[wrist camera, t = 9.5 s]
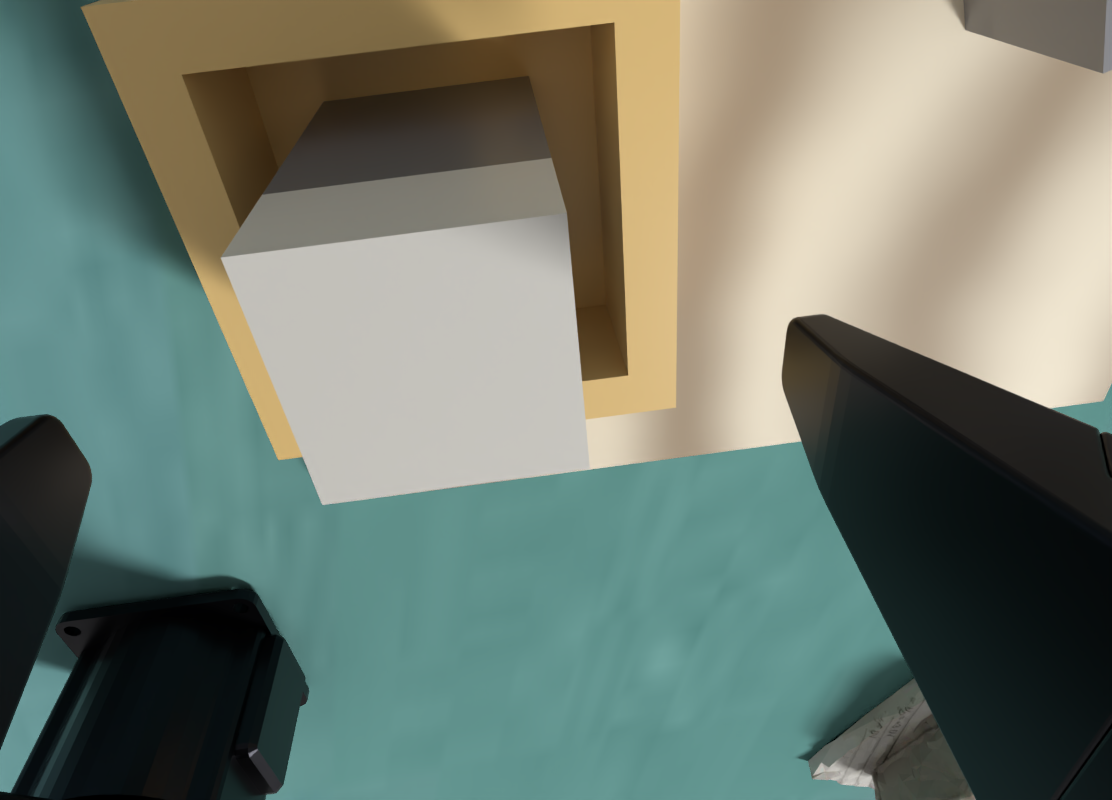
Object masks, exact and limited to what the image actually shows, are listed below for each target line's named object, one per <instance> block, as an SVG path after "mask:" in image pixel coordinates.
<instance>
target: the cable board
mask: <svg viewBox="0 0 1112 800" xmlns="http://www.w3.org/2000/svg"><path fill="white" fill-rule="evenodd" d="M816 314H826V315H828V316H831V317H833V318H836V319H838V320H840V321H843V322H845V323H848V324H850V325H852V326H855V327H857V328H859V329H862V330H864V331H867V332H869V333H871V334H874V335H876V336H878V337H881V338H883V339H886V340H888V341H890V342H893V343H895V344H898V345H900V346H902V347H905V348H907V349H909V350H912V351H914V352H917V353H919V354H921V355H924V356H926V357H928V358H931V359H933V360H936V361H938V362H940V363H943V364H945V365H948V366H950V367H952V368H955V369H957V370H959V371H962V372H964V373H967V374H969V375H971V376H974V377H976V378H979V379H981V380H983V381H986V382H988V383H990V384H993V385H995V386H998V387H1000V388H1002V389H1005V390H1007V391H1010V392H1012V393H1014V394H1017V395H1019V396H1021V397H1024V398H1026V399H1029V400H1031V401H1033V402H1036V403H1038V404H1041V405H1043V406H1045V407H1048V408H1054V407H1062V406H1069V405H1077V404H1084V403H1092V402H1099V401H1104V398H1105V396H1106V394H1107V392H1108V390H1109V388H1110V385H1111V383H1112V70H1111V71H1108V72H1106V73H1104V74H1102V73H1099V72H1096V71H1093V70H1090V69H1087V68H1083V67H1080V66H1077V65H1074V64H1071V63H1068V62H1064V61H1061V60H1058V59H1055V58H1052V57H1049V56H1045V55H1042V54H1039V53H1036V52H1033V51H1030V50H1026V49H1023V48H1020V47H1017V46H1014V45H1011V44H1007V43H1004V42H1001V41H998V40H995V39H992V38H988V37H985V36H982V35H979V34H976V33H973V32H969V31H966V30H965V18H964V2H963V0H680V75H679V171H678V267H677V363H676V408H669V409H662V410H654V411H647V412H639V413H632V414H624V415H616V416H609V417H601V418H594V419H586V430H587V442H588V453H589V464H590V469H597V468H604V467H612V466H619V465H627V464H634V463H642V462H649V461H657V460H664V459H672V458H679V457H687V456H694V455H702V454H709V453H717V452H724V451H732V450H739V449H747V448H754V447H762V446H769V445H777V444H784V443H792V442H799V441H801V439H800V436H799V433H798V430H797V428H796V425H795V422H794V419H793V416H792V414H791V411H790V408H789V405H788V402H787V400H786V397H785V394H784V391H783V386H782V365H783V357H784V348H785V340H786V332H787V327H788V324H789V322H790V321H791V320H792V319H793V318H795V317H801V316H809V315H816ZM584 470H589V469H584ZM577 471H582V470H577ZM570 472H574V471H570ZM562 473H567V472H562ZM555 474H559V473H555ZM547 475H552V474H547ZM540 476H544V475H540ZM533 477H537V476H533ZM525 478H529V477H525ZM518 479H522V478H518ZM510 480H514V479H510ZM503 481H507V480H503ZM496 482H499V481H496ZM488 483H492V482H488ZM481 484H484V483H481ZM474 485H477V484H474ZM466 486H469V485H466ZM459 487H462V486H459ZM451 488H454V487H451ZM444 489H447V488H444ZM437 490H439V489H437ZM429 491H432V490H429ZM422 492H424V491H422ZM414 493H417V492H414ZM407 494H409V493H407ZM400 495H402V494H400ZM392 496H394V495H392ZM385 497H386V496H385ZM378 498H379V497H378ZM370 499H371V498H370ZM363 500H364V499H363ZM355 501H356V500H355ZM348 502H349V501H348ZM333 504H334V503H333Z"/></svg>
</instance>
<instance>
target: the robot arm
mask: <svg viewBox="0 0 1112 800" xmlns="http://www.w3.org/2000/svg"><path fill="white" fill-rule="evenodd" d="M782 386H783V391H784V394H785V397H786V400H787V402H788V405H789V408H790V411H791V414H792V416H793V419H794V422H795V425H796V428H797V430H798V433H799V436H800V439H801V442H802V444H803V447H804V450H805V453H806V456H807V458H808V461H809V464H810V467H811V470H812V472H813V475H814V478H815V480H816V483H817V485H818V488H819V490H820V492H821V494H822V497H823V499H824V501H825V503H826V505H827V507H828V509H829V511H830V513H831V515H832V517H833V519H834V521H835V523H836V525H837V527H838V529H839V531H840V533H841V535H842V537H843V539H844V541H845V543H846V545H847V547H848V549H849V551H850V553H851V554H852V556H853V558H854V560H855V562H856V564H857V566H858V568H859V570H860V572H861V574H862V576H863V578H864V580H865V582H866V584H867V586H868V588H869V590H870V592H871V594H872V596H873V598H874V600H875V602H876V604H877V606H878V608H879V610H880V612H881V614H882V616H883V618H884V620H885V622H886V624H887V625H888V627H889V629H890V631H891V633H892V635H893V637H894V639H895V641H896V643H897V645H898V647H899V649H900V651H901V653H902V655H903V657H904V659H905V661H906V663H907V665H908V667H909V669H910V671H911V673H912V675H913V677H914V679H915V681H916V683H917V685H918V687H919V689H920V691H921V693H922V695H923V697H924V698H925V700H926V702H927V704H928V706H929V708H930V710H931V712H932V714H933V716H934V718H935V720H936V722H937V724H938V726H939V728H940V730H941V732H942V734H943V736H944V738H945V740H946V742H947V744H948V746H949V748H950V750H951V752H952V754H953V756H954V758H955V760H956V762H957V764H958V766H959V768H960V769H961V771H962V773H963V775H964V777H965V779H966V781H967V783H968V785H969V787H970V789H971V791H972V793H973V795H974V797H975V799H976V800H1112V434H1110V433H1108V432H1103V433H1101V434H1100V432H1099V430H1098V429H1097V428H1095V427H1093V426H1091V425H1088V424H1086V423H1083V422H1081V421H1079V420H1076V419H1074V418H1072V417H1069V416H1067V415H1064V414H1062V413H1060V412H1057V411H1055V410H1052V409H1050V408H1048V407H1045V406H1043V405H1041V404H1038V403H1036V402H1033V401H1031V400H1029V399H1026V398H1024V397H1021V396H1019V395H1017V394H1014V393H1012V392H1010V391H1007V390H1005V389H1002V388H1000V387H998V386H995V385H993V384H990V383H988V382H986V381H983V380H981V379H979V378H976V377H974V376H971V375H969V374H967V373H964V372H962V371H959V370H957V369H955V368H952V367H950V366H948V365H945V364H943V363H940V362H938V361H936V360H933V359H931V358H928V357H926V356H924V355H921V354H919V353H917V352H914V351H912V350H909V349H907V348H905V347H902V346H900V345H898V344H895V343H893V342H890V341H888V340H886V339H883V338H881V337H878V336H876V335H874V334H871V333H869V332H867V331H864V330H862V329H859V328H857V327H855V326H852V325H850V324H848V323H845V322H843V321H840V320H838V319H836V318H833V317H831V316H828V315H826V314H816V315H809V316H801V317H795V318H793V319H792V320H791V321H790V322H789V324H788V327H787V332H786V340H785V348H784V357H783V365H782ZM91 483H92V474H91V469H90V466H89V463H88V462H87V460H86V458H85V457H84V455H83V454H82V452H81V451H80V449H79V448H78V446H77V445H76V443H75V442H74V440H73V439H72V437H71V436H70V434H69V432H68V431H67V429H66V428H65V426H64V425H63V424H62V422H61V421H60V420H59V419H57V418H56V417H54V416H52V415H48V414H44V415H35V416H27V417H19V418H15V419H12V420H10V421H8V422H6V423H4V424H3V425H1V426H0V749H1V747H2V744H3V742H4V739H5V737H6V734H7V732H8V729H9V727H10V724H11V721H12V719H13V716H14V714H15V711H16V709H17V706H18V704H19V701H20V699H21V696H22V693H23V691H24V688H25V686H26V683H27V681H28V678H29V676H30V673H31V671H32V668H33V665H34V663H35V660H36V658H37V655H38V653H39V650H40V648H41V645H42V643H43V640H44V637H45V635H46V632H47V630H48V627H49V625H50V622H51V620H52V617H53V615H54V612H55V609H56V607H57V604H58V601H59V598H60V596H61V593H62V590H63V587H64V583H65V580H66V577H67V573H68V570H69V566H70V562H71V558H72V555H73V551H74V547H75V543H76V540H77V536H78V532H79V528H80V525H81V521H82V517H83V514H84V510H85V506H86V502H87V499H88V495H89V491H90V487H91ZM55 630H56V632H57V634H58V635H59V636H60V637H61V639H62V640H63V641H64V642H65V643H66V644H67V646H68V647H69V648H70V649H71V650H72V651H73V653H74V654H75V655H76V656H77V657H78V660H77V662H76V664H75V666H74V668H73V670H72V672H71V674H70V676H69V678H68V680H67V682H66V684H65V686H64V688H63V690H62V691H61V693H60V695H59V697H58V699H57V701H56V703H55V705H54V707H53V709H52V711H51V713H50V715H49V717H48V719H47V721H46V723H45V725H44V727H43V729H42V731H41V733H40V735H39V737H38V739H37V741H36V743H35V745H34V747H33V749H32V751H31V753H30V755H29V757H28V759H27V761H26V763H25V765H24V767H23V769H22V771H21V773H20V775H19V777H18V779H17V781H16V783H15V785H14V787H13V789H12V791H11V793H7V792H0V800H265V799H266V795H267V794H274V793H277V792H278V791H279V789H280V788H281V787H282V786H283V784H284V779H285V775H286V770H287V765H288V760H289V755H290V751H291V746H292V741H293V736H294V731H295V727H296V722H297V717H298V712H299V707H300V706H302V705H304V704H306V702H307V699H308V694H309V688H308V686H307V684H306V682H305V675H304V673H303V672H302V670H301V668H300V666H299V664H298V662H297V660H296V659H295V657H294V655H293V653H292V651H291V649H290V647H289V646H288V644H287V642H286V640H285V639H284V638H283V637H282V636H281V635H280V634H279V632H278V631H277V629H276V627H275V625H274V623H273V621H272V619H271V618H270V616H269V614H268V612H267V610H266V608H265V607H264V605H263V603H262V601H261V599H260V597H259V596H258V595H257V594H256V593H255V592H253V591H251V590H248V589H234V590H227V591H219V592H212V593H204V594H197V595H190V596H182V597H175V598H168V599H160V600H153V601H145V602H138V603H131V604H123V605H116V606H108V607H101V608H94V609H86V610H79V611H71V612H67V613H65V614H63V615H62V616H61V618H60V620H59V622H58V624H57V625H56V629H55Z"/></svg>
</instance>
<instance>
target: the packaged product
mask: <svg viewBox="0 0 1112 800" xmlns="http://www.w3.org/2000/svg"><path fill="white" fill-rule="evenodd" d="M808 763H809V767H810V771H811V776H812V779H820V780H836V781H837V782H839V783H840V784H842V785H854V786H861V787H871V788H873V789H875V798H876V800H976V799H975V797H974V795H973V793H972V791H971V789H970V787H969V785H968V783H967V781H966V779H965V777H964V775H963V773H962V771H961V769H960V768H959V766H958V764H957V762H956V760H955V758H954V756H953V754H952V752H951V750H950V748H949V746H948V744H947V742H946V740H945V738H944V736H943V734H942V732H941V730H940V728H939V726H938V724H937V722H936V720H935V718H934V716H933V714H932V712H931V710H930V708H929V706H928V704H927V702H926V700H925V698H924V697H923V695H922V693H921V691H920V689H919V687H918V685H917V683H916V681H915V679H912V680H911V681H910V682H908V683H907V684H906V685H904V686H903V687H902V688H901V689H899V690H898V691H897V692H896V693H894V694H893V695H892V696H890V697H889V698H887V699H886V700H885V701H883V702H882V703H881V704H879V705H878V706H877V707H875V708H874V709H873V710H871V711H870V712H869V713H867V714H866V715H865V716H864V717H862V718H861V719H860V720H859V721H857V722H856V723H855V724H854V725H853V726H851V727H850V728H849V729H848V730H846V731H845V732H844V733H843V734H842V735H840V736H839V737H838V738H837V739H836V740H834V741H832V742H831V743H829V744H827V745H825V746H824V747H823V748H822V749H821V750H820V751H819V752H818V753H816V754H815V755H814V756H813V757H812V758H811V759H810V760H809V761H808Z"/></svg>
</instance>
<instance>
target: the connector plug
mask: <svg viewBox="0 0 1112 800" xmlns="http://www.w3.org/2000/svg"><path fill="white" fill-rule="evenodd" d="M221 260H222V262H223V265H224V267H225V270H226V272H227V274H228V277H229V279H230V282H231V284H232V287H233V289H234V291H235V294H236V296H237V299H238V301H239V304H240V306H241V308H242V311H243V313H244V316H245V318H246V321H247V323H248V325H249V328H250V330H251V333H252V335H253V338H254V340H255V342H256V345H257V347H258V350H259V352H260V355H261V357H262V359H263V362H264V364H265V367H266V369H267V372H268V374H269V376H270V379H271V381H272V384H273V386H274V389H275V391H276V393H277V396H278V398H279V401H280V403H281V406H282V408H283V410H284V413H285V415H286V418H287V420H288V423H289V425H290V427H291V430H292V432H293V435H294V437H295V440H296V442H297V444H298V447H299V449H300V452H301V454H302V457H303V459H304V461H305V464H306V466H307V469H308V471H309V474H310V476H311V478H312V481H313V483H314V486H315V488H316V491H317V493H318V495H319V498H320V500H321V503H322V505H326V504H333V503H341V502H348V501H355V500H363V499H370V498H378V497H385V496H392V495H400V494H407V493H414V492H422V491H429V490H437V489H444V488H451V487H459V486H466V485H474V484H481V483H488V482H496V481H503V480H510V479H518V478H525V477H533V476H540V475H547V474H555V473H562V472H570V471H577V470H584V469H590V464H589V453H588V442H587V430H586V419H585V408H584V397H583V386H582V375H581V364H580V353H579V342H578V331H577V320H576V309H575V298H574V287H573V276H572V265H571V254H570V243H569V232H568V221H567V212H566V208H565V205H564V201H563V198H562V194H561V190H560V187H559V183H558V180H557V176H556V172H555V169H554V165H553V162H552V158H551V154H550V151H549V147H548V143H547V140H546V136H545V133H544V129H543V125H542V122H541V118H540V115H539V111H538V107H537V104H536V100H535V97H534V93H533V89H532V86H531V82H530V79H529V76H524V77H516V78H508V79H500V80H492V81H484V82H476V83H468V84H460V85H452V86H444V87H436V88H428V89H420V90H412V91H404V92H396V93H388V94H380V95H372V96H364V97H356V98H348V99H340V100H332V101H324V102H323V103H322V105H321V106H320V108H319V109H318V111H317V112H316V114H315V115H314V117H313V118H312V120H311V121H310V123H309V124H308V126H307V127H306V129H305V130H304V132H303V133H302V135H301V136H300V138H299V139H298V141H297V142H296V144H295V146H294V147H293V149H292V150H291V152H290V153H289V155H288V156H287V158H286V159H285V161H284V162H283V164H282V165H281V167H280V168H279V170H278V171H277V173H276V174H275V176H274V177H273V179H272V180H271V182H270V183H269V185H268V186H267V188H266V190H265V191H264V193H263V194H262V196H261V197H260V199H259V200H258V202H257V203H256V205H255V206H254V208H253V209H252V211H251V212H250V214H249V215H248V217H247V218H246V220H245V221H244V223H243V224H242V226H241V227H240V229H239V231H238V232H237V234H236V235H235V237H234V238H233V240H232V241H231V243H230V244H229V246H228V247H227V249H226V250H225V252H224V253H223V255H222V256H221Z"/></svg>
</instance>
